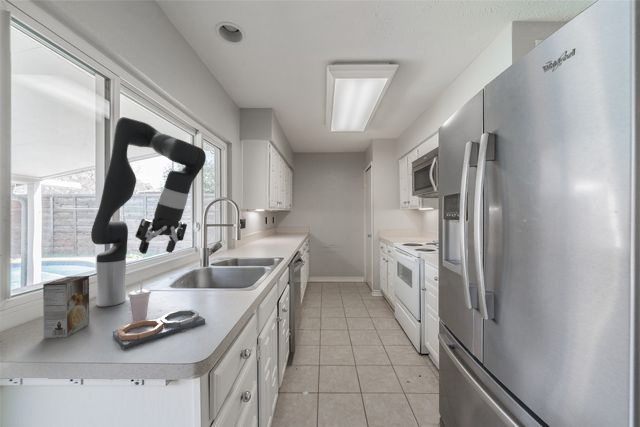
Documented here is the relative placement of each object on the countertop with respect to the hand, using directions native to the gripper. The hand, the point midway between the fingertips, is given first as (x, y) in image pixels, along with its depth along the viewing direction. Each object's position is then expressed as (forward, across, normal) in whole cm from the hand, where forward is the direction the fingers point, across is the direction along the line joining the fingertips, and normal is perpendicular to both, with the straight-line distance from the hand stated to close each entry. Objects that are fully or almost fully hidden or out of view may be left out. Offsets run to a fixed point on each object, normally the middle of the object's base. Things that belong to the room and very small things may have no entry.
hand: (156, 252), depth 82 cm
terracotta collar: (+22, +3, +8) cm, 23 cm away
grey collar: (+20, -8, +11) cm, 24 cm away
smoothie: (+26, -5, -4) cm, 27 cm away
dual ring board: (+22, -3, +10) cm, 24 cm away
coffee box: (+31, +10, -14) cm, 36 cm away
